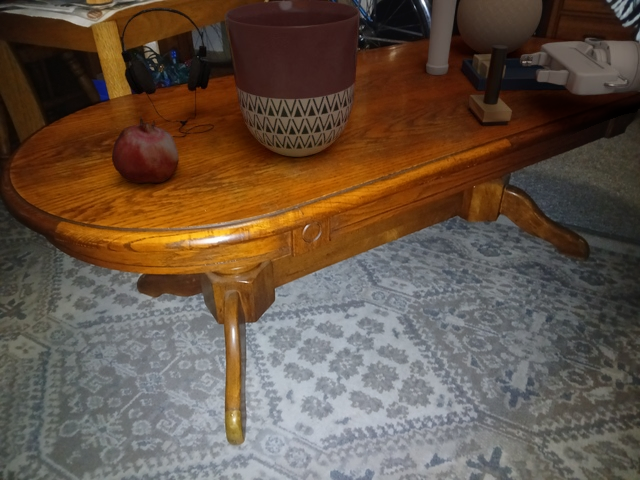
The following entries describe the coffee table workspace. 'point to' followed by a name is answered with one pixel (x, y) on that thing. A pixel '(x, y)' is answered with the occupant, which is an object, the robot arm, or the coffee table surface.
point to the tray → (511, 77)
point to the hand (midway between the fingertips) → (528, 67)
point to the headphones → (143, 80)
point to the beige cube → (485, 69)
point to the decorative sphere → (497, 23)
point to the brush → (492, 93)
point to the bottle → (440, 36)
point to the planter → (294, 71)
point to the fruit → (145, 154)
